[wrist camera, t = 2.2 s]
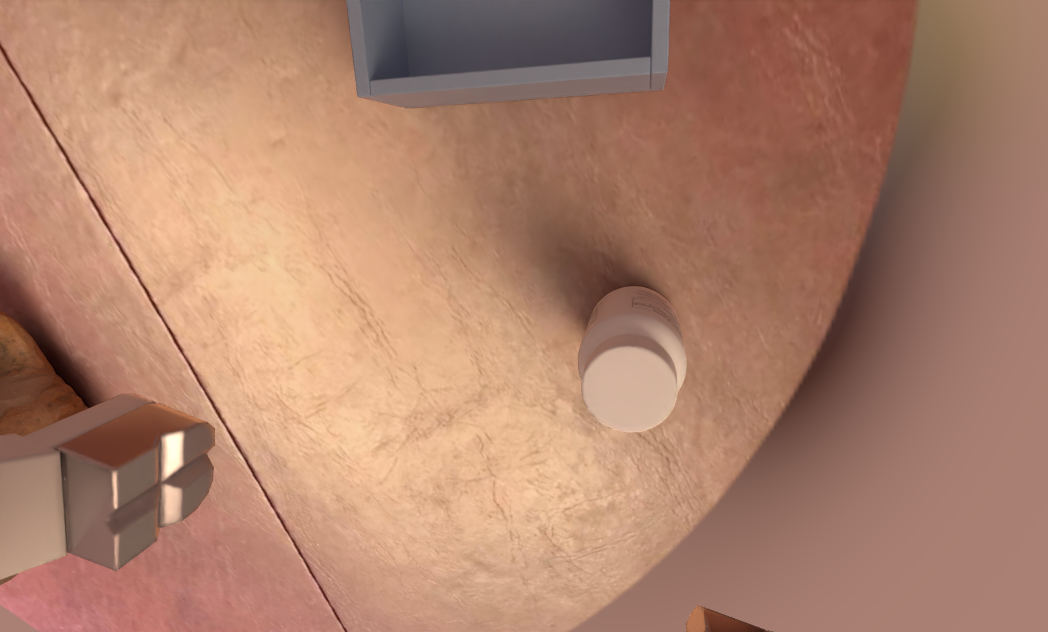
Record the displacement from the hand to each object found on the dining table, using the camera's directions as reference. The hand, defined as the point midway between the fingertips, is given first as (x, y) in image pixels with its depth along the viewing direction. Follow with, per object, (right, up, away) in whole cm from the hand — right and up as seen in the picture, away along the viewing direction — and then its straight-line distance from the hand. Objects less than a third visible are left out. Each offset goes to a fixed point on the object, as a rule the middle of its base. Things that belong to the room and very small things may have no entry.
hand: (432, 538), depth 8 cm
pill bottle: (+7, +3, +18) cm, 19 cm away
